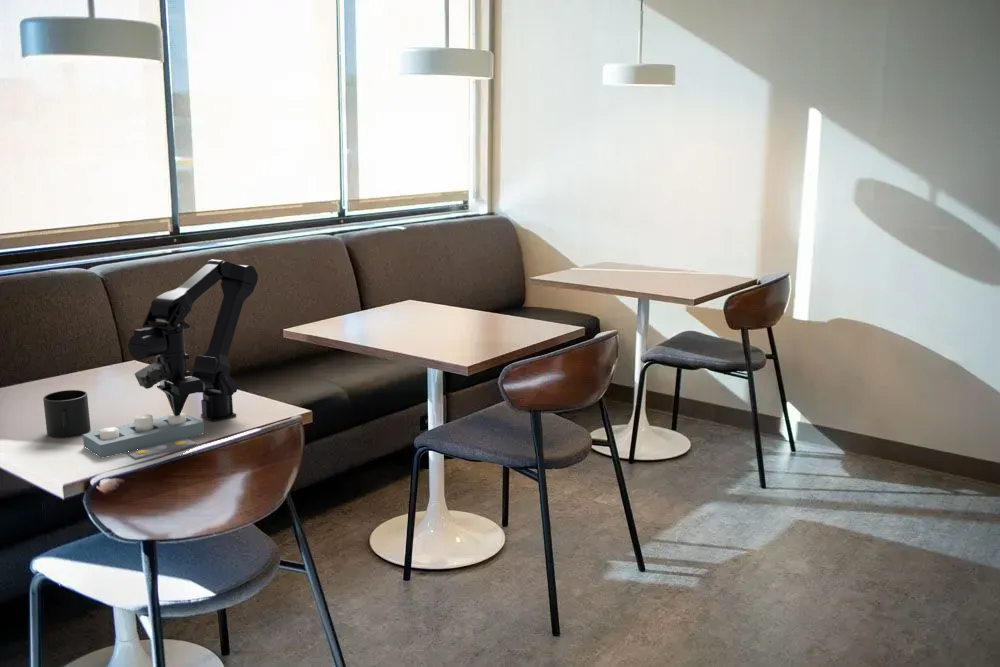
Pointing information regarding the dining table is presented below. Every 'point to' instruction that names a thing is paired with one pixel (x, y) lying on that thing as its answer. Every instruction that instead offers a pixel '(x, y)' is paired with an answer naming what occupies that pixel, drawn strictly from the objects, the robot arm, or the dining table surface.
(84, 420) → the mug
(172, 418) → the button
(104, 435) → the button
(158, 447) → the card
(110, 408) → the dining table surface
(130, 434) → the button board
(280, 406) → the dining table surface
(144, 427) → the button mid
